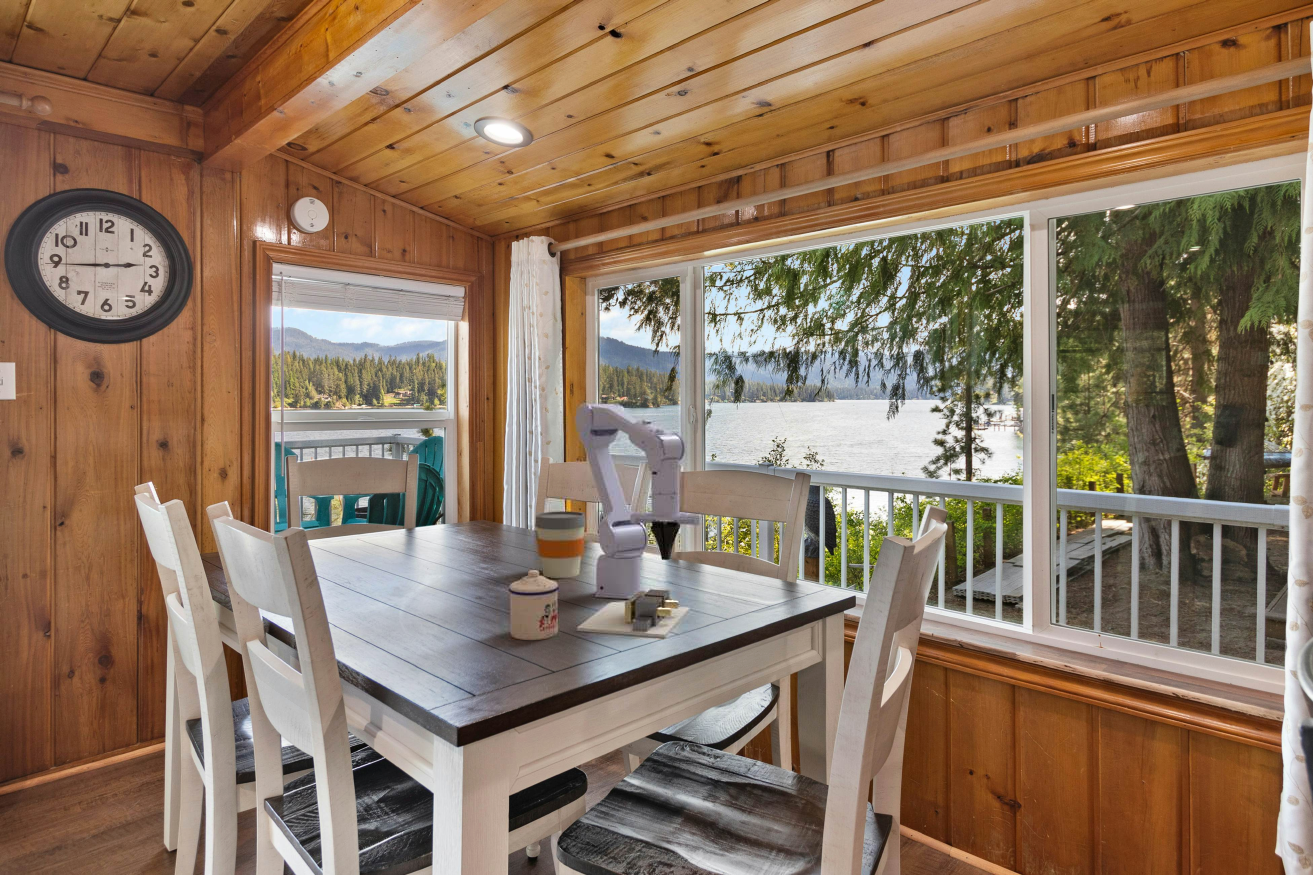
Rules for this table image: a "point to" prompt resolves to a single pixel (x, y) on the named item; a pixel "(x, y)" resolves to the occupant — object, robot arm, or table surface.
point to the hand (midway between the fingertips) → (666, 559)
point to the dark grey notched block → (659, 595)
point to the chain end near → (646, 613)
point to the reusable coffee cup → (560, 542)
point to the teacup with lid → (533, 607)
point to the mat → (614, 622)
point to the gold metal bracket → (660, 611)
